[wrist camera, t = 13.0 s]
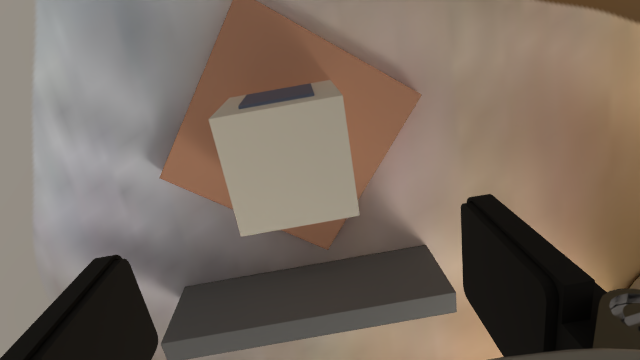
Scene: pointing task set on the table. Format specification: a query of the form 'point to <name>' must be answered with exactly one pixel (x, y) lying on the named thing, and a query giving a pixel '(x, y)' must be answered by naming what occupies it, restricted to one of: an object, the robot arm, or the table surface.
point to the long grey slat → (308, 303)
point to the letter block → (286, 157)
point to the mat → (275, 73)
